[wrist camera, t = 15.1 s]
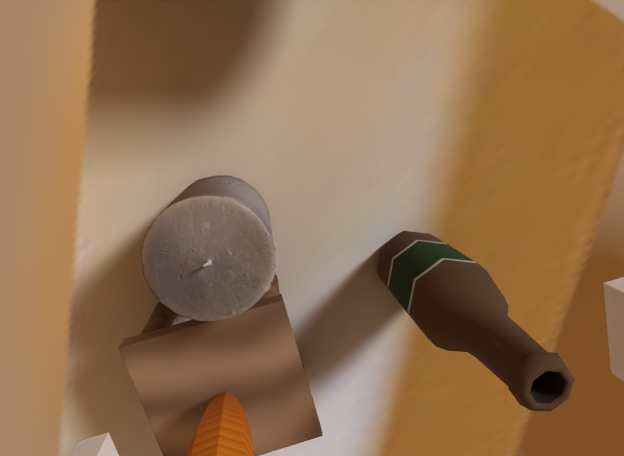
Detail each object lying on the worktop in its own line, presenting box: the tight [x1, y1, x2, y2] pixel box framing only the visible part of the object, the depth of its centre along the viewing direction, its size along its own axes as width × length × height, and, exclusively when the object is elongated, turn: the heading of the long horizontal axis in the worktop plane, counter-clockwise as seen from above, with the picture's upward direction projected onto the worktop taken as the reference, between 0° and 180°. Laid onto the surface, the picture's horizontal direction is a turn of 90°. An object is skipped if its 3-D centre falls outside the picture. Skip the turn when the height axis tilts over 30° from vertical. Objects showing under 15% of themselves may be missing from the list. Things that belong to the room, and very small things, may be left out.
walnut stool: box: [119, 274, 323, 456], centre depth 43 cm, size 14×14×10 cm
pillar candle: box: [141, 176, 276, 321], centre depth 37 cm, size 10×10×15 cm
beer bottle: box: [377, 231, 574, 411], centre depth 36 cm, size 8×8×24 cm
